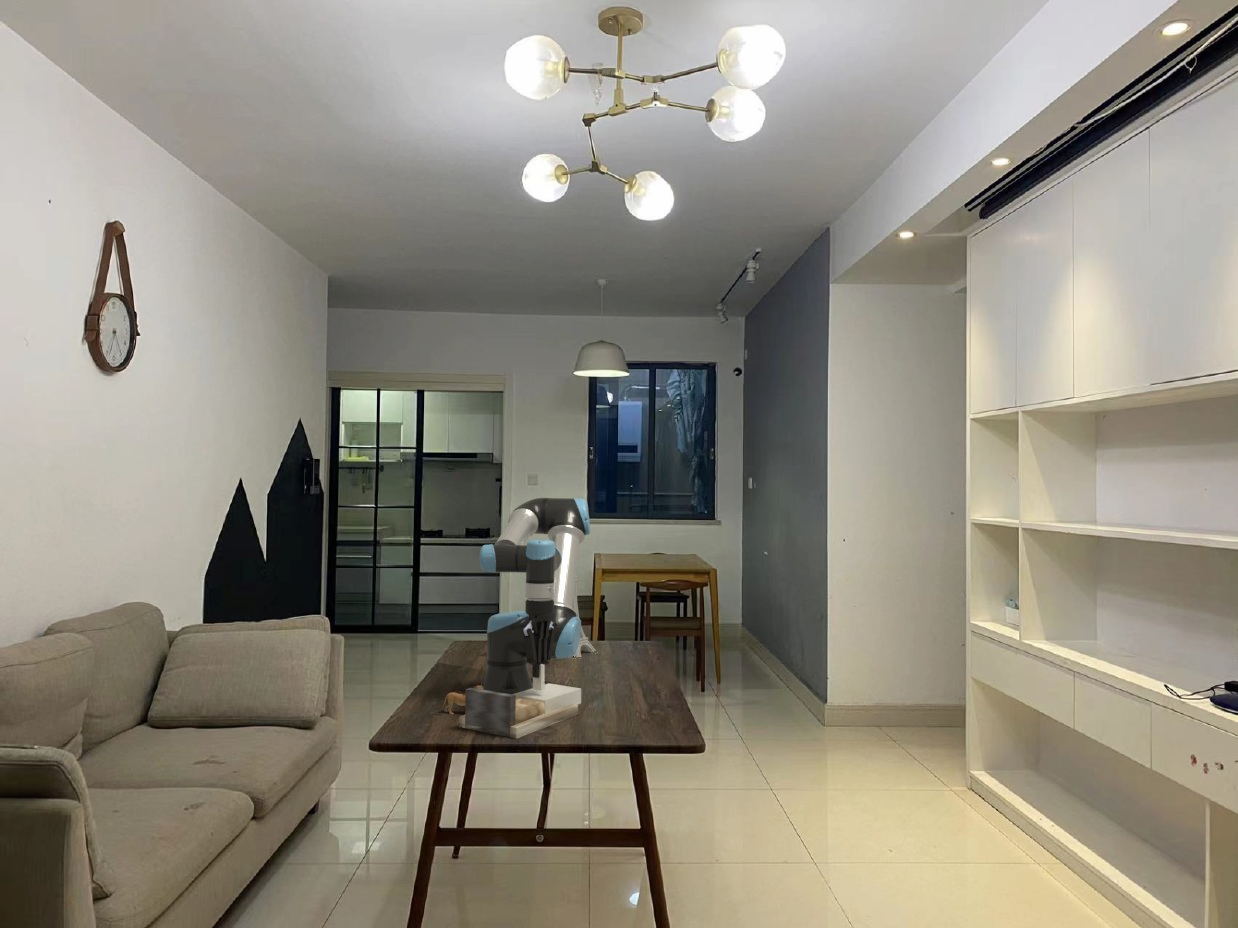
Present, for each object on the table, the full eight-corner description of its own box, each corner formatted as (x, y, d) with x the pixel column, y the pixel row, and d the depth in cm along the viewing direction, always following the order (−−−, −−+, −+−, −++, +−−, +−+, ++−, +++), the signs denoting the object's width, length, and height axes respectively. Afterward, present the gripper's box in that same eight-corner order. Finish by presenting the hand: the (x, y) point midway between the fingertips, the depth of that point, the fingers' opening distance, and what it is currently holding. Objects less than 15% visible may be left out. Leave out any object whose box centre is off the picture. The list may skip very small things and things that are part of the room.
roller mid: (501, 698, 218) (500, 714, 217) (491, 700, 215) (490, 716, 214) (538, 705, 211) (537, 721, 211) (528, 707, 208) (527, 723, 208)
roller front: (491, 705, 215) (487, 721, 213) (482, 701, 211) (477, 717, 210) (529, 711, 208) (524, 728, 207) (520, 707, 205) (515, 724, 204)
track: (458, 727, 208) (459, 688, 209) (523, 705, 230) (523, 670, 231) (516, 738, 199) (517, 698, 199) (578, 714, 221) (578, 678, 221)
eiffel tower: (578, 660, 294) (579, 573, 295) (547, 656, 301) (548, 571, 302) (598, 654, 306) (599, 571, 307) (568, 650, 313) (569, 569, 314)
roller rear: (498, 697, 218) (508, 694, 222) (498, 713, 218) (508, 709, 222) (535, 704, 212) (545, 700, 215) (535, 720, 212) (545, 716, 215)
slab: (511, 709, 221) (511, 694, 222) (548, 697, 235) (548, 683, 235) (545, 716, 215) (545, 700, 216) (581, 703, 229) (581, 688, 229)
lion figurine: (484, 711, 223) (485, 684, 223) (482, 716, 219) (483, 687, 219) (439, 711, 223) (440, 683, 223) (436, 716, 218) (437, 687, 219)
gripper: (536, 602, 215) (535, 696, 214) (565, 597, 226) (564, 686, 225) (513, 600, 219) (511, 692, 218) (542, 595, 230) (541, 683, 229)
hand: (538, 689), depth 221 cm, fingers closed
